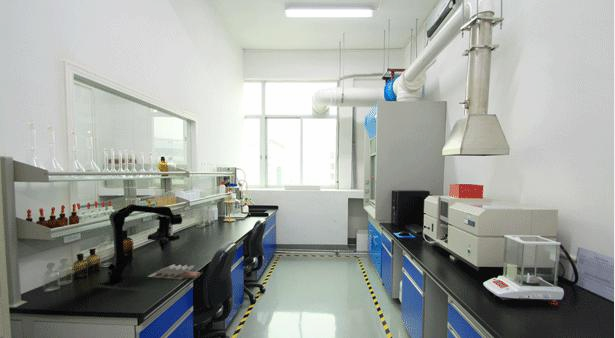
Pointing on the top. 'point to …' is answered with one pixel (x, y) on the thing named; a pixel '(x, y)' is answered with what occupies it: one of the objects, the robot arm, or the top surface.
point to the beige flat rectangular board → (166, 276)
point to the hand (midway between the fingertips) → (163, 250)
